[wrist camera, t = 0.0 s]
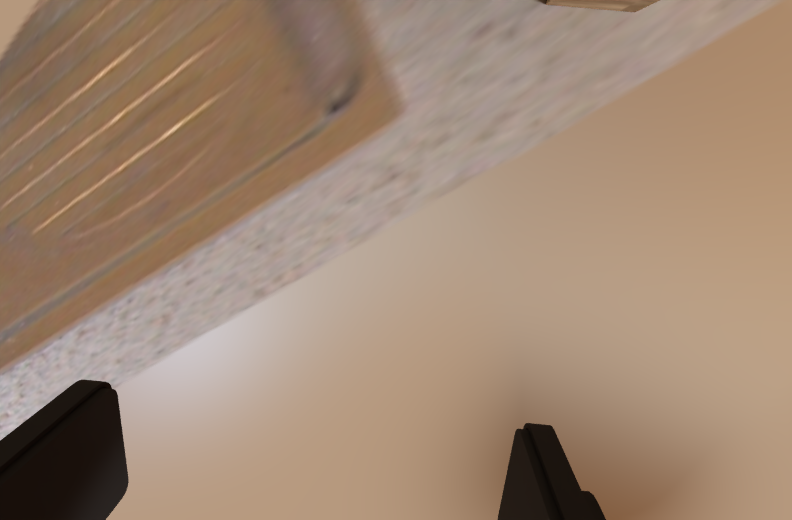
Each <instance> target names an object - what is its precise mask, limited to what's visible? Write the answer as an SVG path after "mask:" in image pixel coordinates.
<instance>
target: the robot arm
mask: <svg viewBox="0 0 792 520" xmlns="http://www.w3.org/2000/svg"><path fill="white" fill-rule="evenodd" d="M127 487H128V472H127V464H126V457H125V449H124V442H123V434H122V426H121V419H120V410H119V403H118V395H117V392H116V391H115V390H114V389H112V388H111V385H110V384H109V383H107V382H102V381H92V380H79V381H77V382H75V383H74V384H73V385H71V386H70V387H69V388H68V389H66V390H65V391H64V392H62V393H61V394H60V395H59V396H57V397H56V398H55V399H53V400H52V401H51V402H50V403H48V404H47V405H46V406H44V407H43V408H42V409H41V410H39V411H38V412H37V413H35V414H34V415H33V416H31V417H30V418H29V419H28V420H26V421H25V422H24V423H22V424H21V425H20V426H19V427H17V428H16V429H15V430H13V431H12V432H11V433H10V434H8V435H7V436H6V437H4V438H3V439H2V440H1V441H0V520H106V518H107V517H108V516H109V515H110V513H111V512H112V511H113V509H114V508H115V507H116V506H117V504H118V503H119V502H120V500H121V499H122V497H123V496H124V494H125V492H126V490H127ZM498 520H606V519H605V517H604V515H603V512H602V510H601V508H600V506H599V504H598V502H597V500H596V499H595V497H594V495H592V494H591V493H590V492H589V491H581V489H580V487H579V484H578V482H577V480H576V478H575V475H574V473H573V471H572V469H571V467H570V464H569V462H568V460H567V458H566V455H565V453H564V451H563V449H562V446H561V444H560V442H559V440H558V438H557V435H556V433H555V431H554V429H553V427H552V426H550V425H541V424H531V423H526V424H525V425H524V428H523V429H517V430H516V432H515V436H514V441H513V446H512V451H511V456H510V461H509V465H508V470H507V475H506V480H505V485H504V490H503V495H502V500H501V505H500V510H499V515H498Z"/></svg>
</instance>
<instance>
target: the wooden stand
mask: <svg viewBox="0 0 792 520" xmlns="http://www.w3.org/2000/svg"><path fill="white" fill-rule="evenodd" d="M657 1H659V0H547V1H546V5H557V6H569V7H580V8H592V9H604V10H615V11H627V12H636V11H639V10H641V9H643V8H645V7H647V6H649V5H651V4H653V3H655V2H657Z"/></svg>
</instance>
